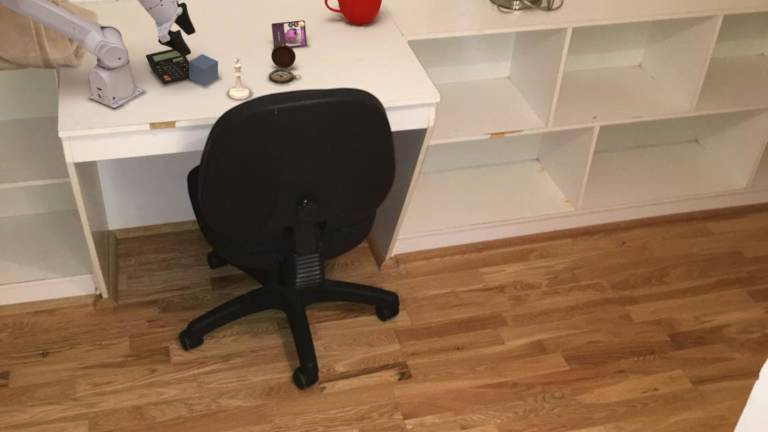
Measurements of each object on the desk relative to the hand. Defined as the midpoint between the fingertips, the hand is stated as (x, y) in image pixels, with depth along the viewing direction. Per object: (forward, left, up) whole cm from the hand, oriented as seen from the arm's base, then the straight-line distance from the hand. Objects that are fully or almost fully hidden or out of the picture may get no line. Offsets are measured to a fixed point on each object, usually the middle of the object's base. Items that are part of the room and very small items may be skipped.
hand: (189, 43), depth 188 cm
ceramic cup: (+52, -13, -11) cm, 55 cm away
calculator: (+1, +8, -11) cm, 13 cm away
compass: (+15, -17, -11) cm, 25 cm away
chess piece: (+2, -12, -11) cm, 17 cm away
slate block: (+2, -1, -10) cm, 11 cm away
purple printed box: (+30, -7, -11) cm, 33 cm away
